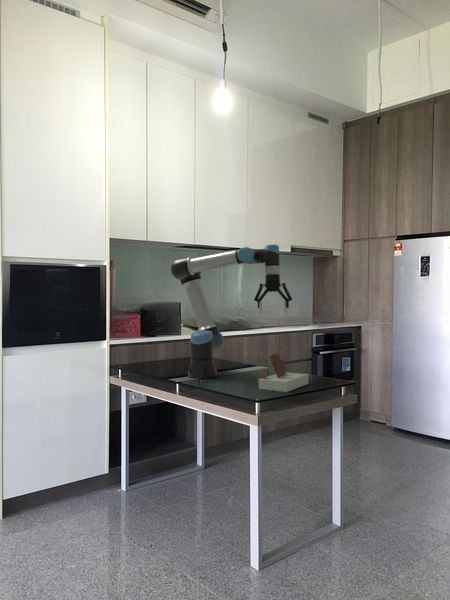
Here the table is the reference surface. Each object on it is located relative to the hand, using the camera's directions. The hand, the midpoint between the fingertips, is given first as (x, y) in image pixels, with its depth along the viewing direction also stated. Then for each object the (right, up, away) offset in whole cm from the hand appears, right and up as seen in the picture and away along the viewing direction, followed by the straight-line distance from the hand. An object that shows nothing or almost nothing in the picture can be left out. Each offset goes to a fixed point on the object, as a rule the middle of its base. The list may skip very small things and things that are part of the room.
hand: (273, 314), depth 263 cm
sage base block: (+2, -33, -33) cm, 47 cm away
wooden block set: (-1, -28, -32) cm, 42 cm away
